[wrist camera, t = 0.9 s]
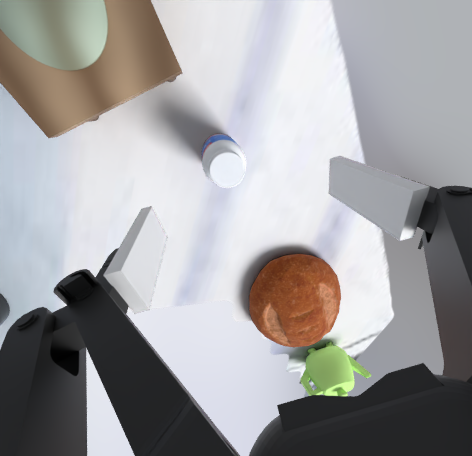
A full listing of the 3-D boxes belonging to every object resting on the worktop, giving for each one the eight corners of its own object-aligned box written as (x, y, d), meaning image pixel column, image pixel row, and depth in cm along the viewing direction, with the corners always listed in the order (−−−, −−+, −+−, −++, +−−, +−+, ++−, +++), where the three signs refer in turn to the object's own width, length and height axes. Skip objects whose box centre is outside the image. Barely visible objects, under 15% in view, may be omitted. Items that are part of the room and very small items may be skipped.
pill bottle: (202, 130, 28) (204, 140, 20) (239, 135, 29) (255, 146, 21) (200, 169, 31) (201, 192, 23) (234, 172, 32) (247, 195, 24)
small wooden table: (89, 130, 26) (46, 138, 19) (-24, -23, 19) (-170, -110, 11) (186, 81, 25) (181, 70, 18) (106, -100, 18) (40, -249, 10)
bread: (268, 342, 60) (279, 375, 52) (226, 273, 43) (232, 308, 36) (340, 314, 58) (361, 344, 51) (325, 231, 42) (353, 258, 34)
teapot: (349, 331, 64) (380, 376, 53) (348, 351, 71) (375, 394, 61) (290, 351, 64) (308, 399, 54) (295, 369, 71) (312, 414, 61)
